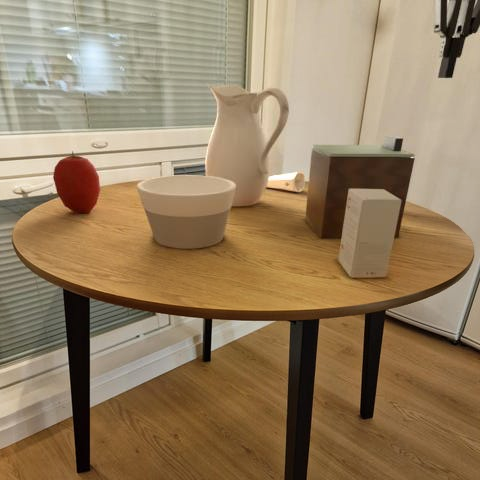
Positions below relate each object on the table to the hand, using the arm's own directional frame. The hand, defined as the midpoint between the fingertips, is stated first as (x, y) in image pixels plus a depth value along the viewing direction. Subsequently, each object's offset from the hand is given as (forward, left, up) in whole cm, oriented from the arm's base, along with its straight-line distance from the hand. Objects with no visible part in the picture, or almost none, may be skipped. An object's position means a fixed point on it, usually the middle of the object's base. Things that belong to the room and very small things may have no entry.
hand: (444, 77), depth 83 cm
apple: (+77, -16, -30) cm, 84 cm away
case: (+15, 0, -30) cm, 33 cm away
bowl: (+51, +5, -30) cm, 59 cm away
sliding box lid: (+15, 0, -14) cm, 20 cm away
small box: (+21, +24, -30) cm, 44 cm away
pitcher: (+36, -22, -30) cm, 52 cm away
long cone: (+25, -43, -30) cm, 58 cm away
